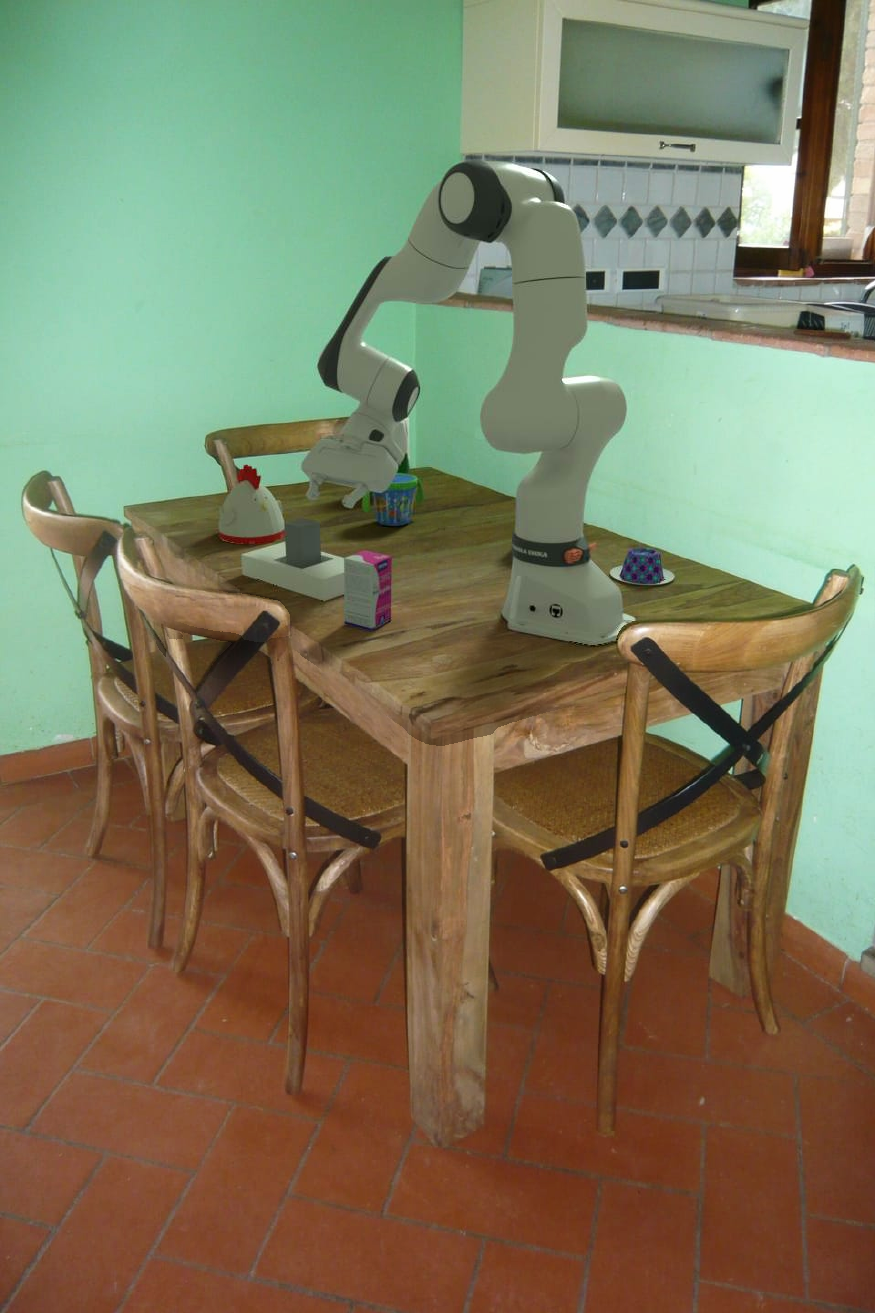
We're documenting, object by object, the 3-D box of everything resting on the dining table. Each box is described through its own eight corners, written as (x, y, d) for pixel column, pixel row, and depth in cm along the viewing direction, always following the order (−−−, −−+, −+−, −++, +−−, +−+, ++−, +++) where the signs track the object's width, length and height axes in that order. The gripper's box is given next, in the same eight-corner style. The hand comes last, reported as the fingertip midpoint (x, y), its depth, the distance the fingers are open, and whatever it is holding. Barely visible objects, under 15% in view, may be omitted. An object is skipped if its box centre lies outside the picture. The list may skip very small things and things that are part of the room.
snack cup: (411, 512, 228) (410, 468, 224) (436, 523, 220) (436, 477, 216) (351, 522, 220) (350, 477, 216) (375, 533, 212) (374, 486, 208)
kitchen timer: (240, 549, 201) (235, 475, 196) (207, 534, 211) (200, 464, 205) (298, 536, 210) (294, 466, 204) (263, 523, 219) (258, 455, 213)
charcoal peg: (322, 579, 184) (319, 522, 180) (304, 585, 181) (301, 527, 176) (305, 574, 186) (302, 517, 182) (287, 580, 183) (284, 522, 179)
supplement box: (373, 632, 160) (371, 564, 156) (343, 624, 163) (341, 558, 158) (393, 621, 165) (392, 554, 160) (364, 614, 168) (362, 549, 163)
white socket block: (368, 585, 181) (367, 564, 179) (324, 601, 173) (323, 579, 172) (286, 561, 194) (285, 541, 192) (242, 574, 186) (241, 554, 185)
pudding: (653, 593, 179) (656, 565, 177) (597, 578, 186) (599, 552, 184) (685, 577, 187) (688, 550, 185) (630, 564, 195) (633, 538, 193)
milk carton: (412, 489, 249) (412, 408, 241) (405, 497, 241) (404, 414, 233) (378, 487, 250) (376, 406, 242) (370, 496, 242) (368, 412, 234)
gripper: (315, 424, 190) (280, 483, 186) (395, 436, 178) (358, 500, 174) (333, 444, 194) (298, 502, 191) (411, 457, 182) (376, 520, 179)
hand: (328, 501), depth 183 cm, fingers open, 8 cm apart
